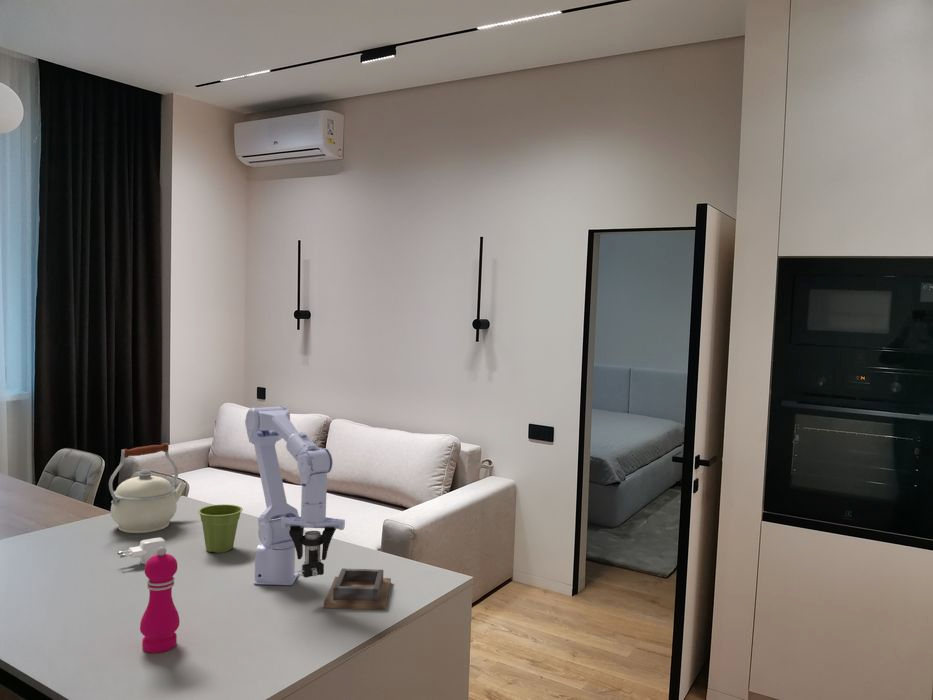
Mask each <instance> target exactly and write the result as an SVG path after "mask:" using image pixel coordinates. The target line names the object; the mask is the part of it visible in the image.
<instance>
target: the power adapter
mask: <svg viewBox="0 0 933 700" xmlns="http://www.w3.org/2000/svg"><path fill="white" fill-rule="evenodd" d="M166 544H167V543H166V540H165V539H164V538H163V537H153V538H147V539H142V540H140V542H139V545H137V546H132V547H128V550H124V551H123V550H122V551H117V555H119V558H122V559H123V558H127V557H131V558H132V559H135V558H136V559H137V558H138V559H139V562H140V564H141V565H144V566H145V565H146V562H147V561H148V560H149V559H150V558H151V557H152V556H154V555H157V549H158V548H160V547H164V548H167V546H166Z"/></svg>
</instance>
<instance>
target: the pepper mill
mask: <svg viewBox="0 0 933 700" xmlns="http://www.w3.org/2000/svg"><path fill="white" fill-rule="evenodd" d="M166 548H167V547H166ZM166 548H164V547H160V548H158V549H157V555H154V556H152V557H151V558H150V559H149V560H148V561H147V562H146V565H144V575H145V576H146V578H148V579H147V580H146V588H147V589H148V590H149V591H148V592H149V596H148V597H149V598H148V603H147V607H146V608H145V611H144V612H143V614H142V617H141V620H140V624H139V631H140V633H141V634H142V636H144V637H142V640H141V647H142V650H143V651H144V652H146V653H149V654H150V653H151V654H152V653H153V654H158V653H163V652H167V651H169V650H171V649H173V648H174V647H175V646H176V645H177V643H178V642H177V640H178V639H177V637H178V636H177V633H176V631H177V630H178V629H179V627H180V616H179V612H178V610H177V608H176V606H175V604H174V600H173V597H172V596H173V594H172V593H173V592H172V590H173V587H174V586H175V577H174V575H175V574H176V573H177V571H178V567H179V566H178V561H177V559H176V558H175V557H174V555H171V554H169V553H167V549H166Z"/></svg>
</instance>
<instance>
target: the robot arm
mask: <svg viewBox="0 0 933 700" xmlns="http://www.w3.org/2000/svg"><path fill="white" fill-rule="evenodd" d="M244 423H245V425H244V426H245V429H246V433H247V438H248V441H249V443H250V444H252V445H254V446H253V447H254V450H255V457H256V459H257V460H256V462H257V466H258V471H259V474H260V480H261V481H260V482H261V486H262V491H263V496H264V500H265V505H266V508H265V510H264V511H263V512H262V513H261V514H260V515H259V517H258V518H257V520H258V521H257V524H258V532H257V533H258V540H259V541H260V543H259V544H258V545H257V547H256V549H255V557H254V559H255V560H254V580H253V584H254V585H269V586H270V585H271V586H273V585H274V586H292V585H293V584H294V583H295V581H296V579H297V578H298V576H299V574H300V572H299V571H298V573H297V572H296V567H295V566H296V556H297V560H301V559H302V558H303V555H304V554H303V553H304V550H303V549H304V545H303V544H302V540H301V537H302V536H304V531H305V529H306V528H307V529H309V528H310V529H323V530H322V533H321V535H322V538H323V544H322V552H321V561H326V559H327V557H328V552H329V551H328V550H329V547H330V544H331V540H332V538H334V537H333V536H334V534H335V532H336V530H339V531H343V530H344V529H345V525H346V524H345V522H346V519H341V518H334V517H327V491H328V488H327V486H328V474H329V473H330V472H331V471H332V469H333V464H334V463H333V457H332V454H331V452H330V450H329V449H328V448H323V447H318V445H316V443H315V442H314V441H313V440H312V439H311V438H310V437H309V436H308V434H307V433H306V432H299V431H298V429H296V427H295V426H294V424H293V423H292V421H291V413H290V410H288V408H287V407H286V406H284V405H280V406H269V407H268V406H267V407H250V408H249V409H248V411H247V412H246V416H245V421H244ZM282 439H283V441H285V442H286V447H285V448H286V450H287V451H288V452H289V454H290V455H291V456H292V457H293V458H294V460H295V461H296V462H297V463H296V464H297V470H298V473H299V481H300V482H299V483H301V504H300V506H301V507H300V513H299V512H298V509H297V508H295V507H294V506H292V505H290V504H289V503H288V502H287V497H286V492H285V488H284V483H283V477H282V473H281V469H280V463H279V459H278V455H277V449H276V444H277V443H278V442H279V441H281V440H282ZM299 514H300V515H299ZM296 575H298V576H296Z"/></svg>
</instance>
